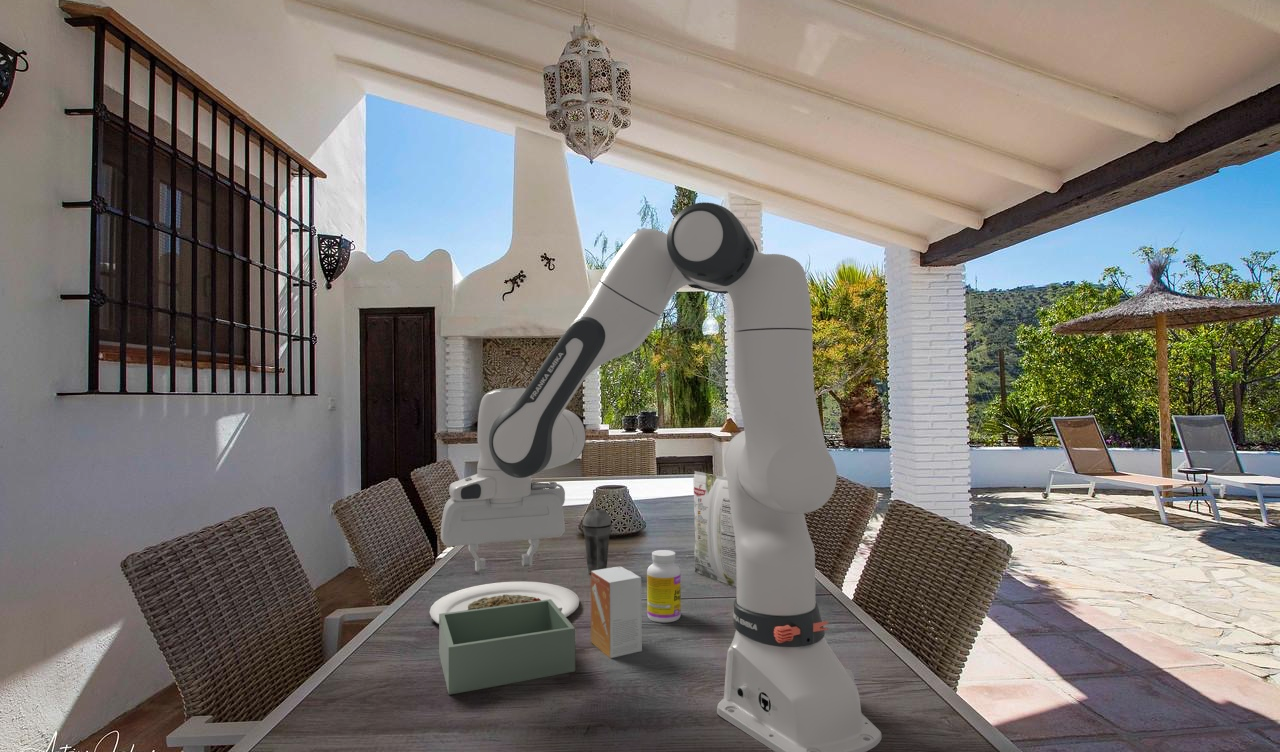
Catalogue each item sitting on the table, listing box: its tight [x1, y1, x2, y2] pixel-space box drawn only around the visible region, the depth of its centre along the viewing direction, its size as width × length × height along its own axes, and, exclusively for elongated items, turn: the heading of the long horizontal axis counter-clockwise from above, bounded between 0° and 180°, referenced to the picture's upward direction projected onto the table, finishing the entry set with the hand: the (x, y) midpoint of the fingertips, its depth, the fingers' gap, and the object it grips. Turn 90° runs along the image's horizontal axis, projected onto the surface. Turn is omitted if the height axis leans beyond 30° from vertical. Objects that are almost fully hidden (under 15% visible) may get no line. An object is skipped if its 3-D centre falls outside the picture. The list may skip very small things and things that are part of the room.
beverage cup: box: [581, 490, 612, 574], centre depth 161 cm, size 7×7×20 cm
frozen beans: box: [693, 470, 737, 588], centre depth 152 cm, size 21×6×25 cm, turn 32°
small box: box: [590, 566, 643, 659], centre depth 114 cm, size 8×6×13 cm
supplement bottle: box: [646, 549, 682, 624], centre depth 129 cm, size 7×7×13 cm
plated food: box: [429, 581, 580, 625], centre depth 134 cm, size 30×30×3 cm
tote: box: [438, 599, 576, 696], centre depth 108 cm, size 16×20×7 cm
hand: (504, 567), depth 108 cm, fingers open, 6 cm apart
